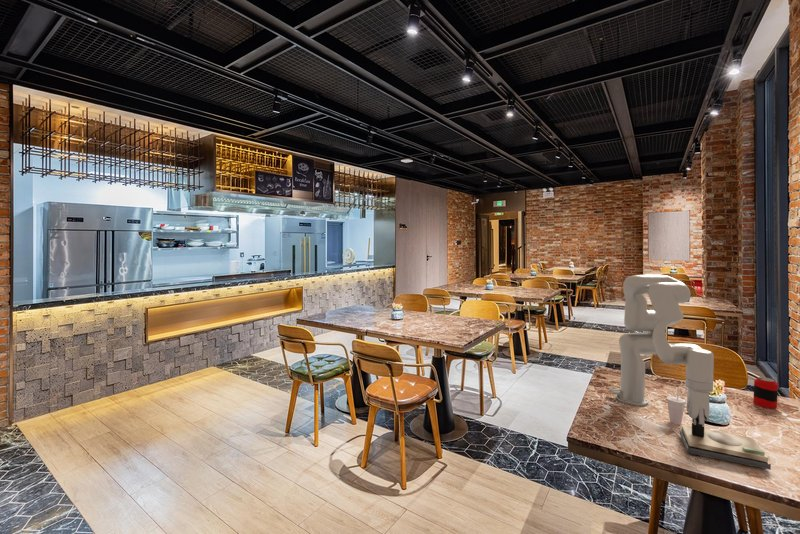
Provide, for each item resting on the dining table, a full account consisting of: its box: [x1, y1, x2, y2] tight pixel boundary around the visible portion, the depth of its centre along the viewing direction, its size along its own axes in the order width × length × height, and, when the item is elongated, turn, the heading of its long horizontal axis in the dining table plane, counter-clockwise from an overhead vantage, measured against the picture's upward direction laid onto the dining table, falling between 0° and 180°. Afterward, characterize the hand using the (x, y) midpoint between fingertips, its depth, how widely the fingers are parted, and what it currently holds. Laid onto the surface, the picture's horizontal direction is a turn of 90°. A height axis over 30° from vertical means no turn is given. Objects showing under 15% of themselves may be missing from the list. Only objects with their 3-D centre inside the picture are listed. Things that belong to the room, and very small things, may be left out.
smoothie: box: [665, 388, 687, 426], centre depth 150 cm, size 6×6×14 cm
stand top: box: [681, 424, 769, 462], centre depth 128 cm, size 20×14×2 cm
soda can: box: [752, 376, 779, 410], centre depth 166 cm, size 8×8×12 cm
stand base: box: [678, 428, 772, 471], centre depth 128 cm, size 21×15×3 cm
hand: (697, 435), depth 131 cm, fingers closed
